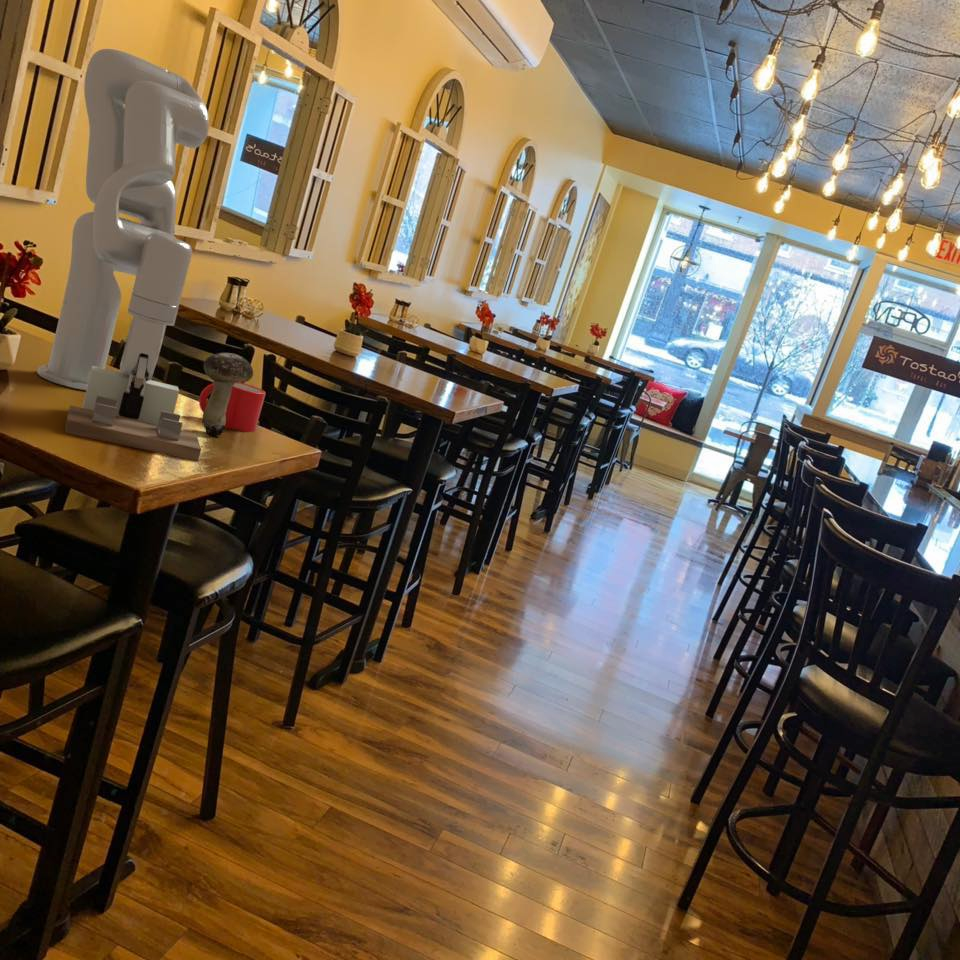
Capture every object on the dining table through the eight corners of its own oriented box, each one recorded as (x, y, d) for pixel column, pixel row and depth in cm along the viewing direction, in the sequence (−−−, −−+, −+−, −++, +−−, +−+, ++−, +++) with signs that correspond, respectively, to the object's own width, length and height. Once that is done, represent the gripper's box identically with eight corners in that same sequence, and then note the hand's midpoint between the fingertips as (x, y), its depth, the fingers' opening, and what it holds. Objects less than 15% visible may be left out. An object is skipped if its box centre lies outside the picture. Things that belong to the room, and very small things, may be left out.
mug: (190, 411, 182) (200, 373, 181) (249, 423, 189) (259, 386, 187) (199, 422, 176) (209, 382, 174) (260, 434, 182) (270, 396, 181)
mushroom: (221, 429, 176) (242, 353, 173) (245, 444, 171) (266, 365, 168) (176, 423, 169) (196, 343, 166) (198, 438, 164) (220, 356, 161)
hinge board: (67, 417, 150) (74, 387, 149) (193, 444, 158) (200, 416, 158) (64, 432, 141) (71, 401, 140) (198, 460, 150) (205, 431, 149)
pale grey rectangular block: (81, 411, 157) (92, 365, 156) (166, 430, 163) (177, 386, 161) (80, 416, 154) (91, 369, 152) (167, 435, 160) (179, 391, 158)
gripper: (128, 297, 161) (104, 395, 164) (130, 311, 145) (104, 419, 149) (173, 310, 164) (148, 405, 167) (179, 324, 148) (152, 429, 152)
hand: (128, 411), depth 158 cm, fingers open, 7 cm apart
